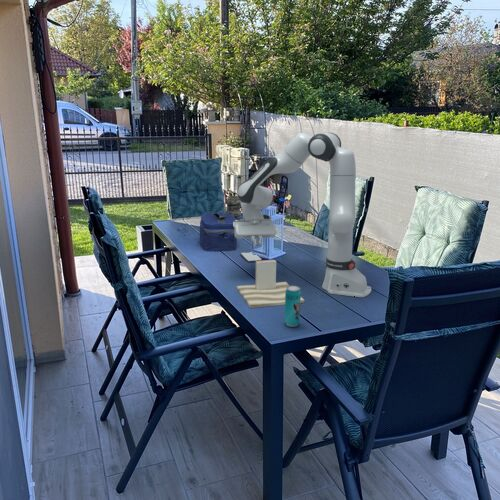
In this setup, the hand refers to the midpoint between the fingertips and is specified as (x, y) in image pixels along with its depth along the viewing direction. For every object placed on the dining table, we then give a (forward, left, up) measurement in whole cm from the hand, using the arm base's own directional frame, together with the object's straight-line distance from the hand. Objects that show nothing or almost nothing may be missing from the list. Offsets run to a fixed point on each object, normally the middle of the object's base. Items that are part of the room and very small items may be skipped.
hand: (257, 245), depth 229 cm
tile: (-9, +9, -17) cm, 21 cm away
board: (-13, +13, -18) cm, 26 cm away
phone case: (+22, -32, -19) cm, 44 cm away
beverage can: (-35, +36, -19) cm, 53 cm away
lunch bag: (+52, -45, -19) cm, 72 cm away
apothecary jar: (+81, -109, -19) cm, 137 cm away
